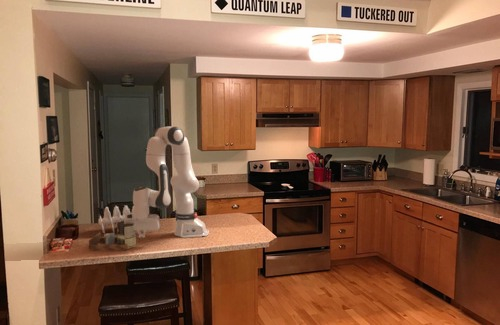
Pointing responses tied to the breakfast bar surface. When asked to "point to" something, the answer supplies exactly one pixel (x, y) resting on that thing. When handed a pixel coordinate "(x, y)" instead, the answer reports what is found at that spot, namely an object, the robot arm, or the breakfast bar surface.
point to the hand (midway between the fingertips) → (142, 237)
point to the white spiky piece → (115, 218)
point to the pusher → (110, 238)
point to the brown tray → (98, 239)
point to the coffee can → (126, 234)
